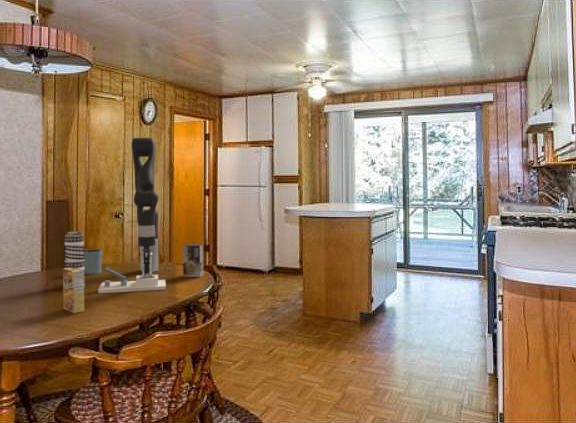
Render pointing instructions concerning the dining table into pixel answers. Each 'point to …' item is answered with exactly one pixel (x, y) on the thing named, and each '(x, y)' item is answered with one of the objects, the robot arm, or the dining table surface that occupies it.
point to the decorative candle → (74, 250)
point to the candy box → (73, 289)
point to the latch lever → (115, 273)
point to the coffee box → (193, 260)
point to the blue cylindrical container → (92, 261)
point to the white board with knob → (133, 285)
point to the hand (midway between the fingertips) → (147, 272)
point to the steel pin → (147, 276)
